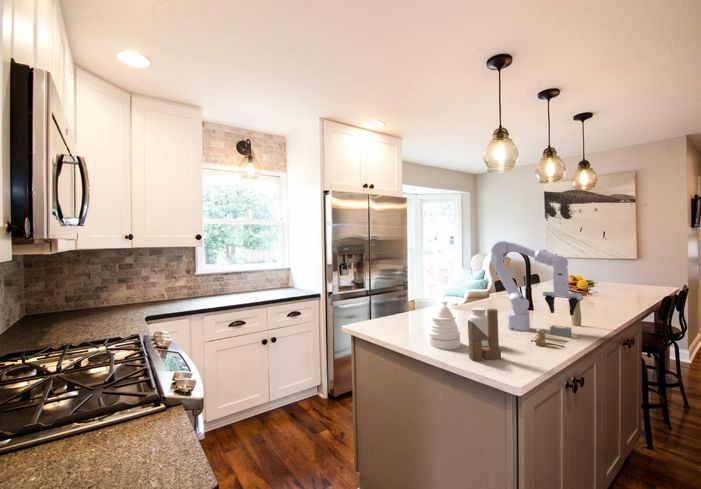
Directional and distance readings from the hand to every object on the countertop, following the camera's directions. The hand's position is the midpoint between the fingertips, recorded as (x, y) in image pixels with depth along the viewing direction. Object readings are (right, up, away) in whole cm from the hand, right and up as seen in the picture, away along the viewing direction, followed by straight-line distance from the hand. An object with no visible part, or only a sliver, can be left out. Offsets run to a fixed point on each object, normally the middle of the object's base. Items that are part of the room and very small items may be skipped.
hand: (561, 313), depth 148 cm
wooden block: (-44, -12, -25) cm, 52 cm away
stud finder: (-2, -9, -3) cm, 10 cm away
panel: (-5, -10, -4) cm, 12 cm away
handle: (+15, -10, +13) cm, 22 cm away
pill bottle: (-40, -11, -8) cm, 42 cm away
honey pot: (-54, -12, -6) cm, 56 cm away
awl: (-16, -10, -12) cm, 23 cm away
